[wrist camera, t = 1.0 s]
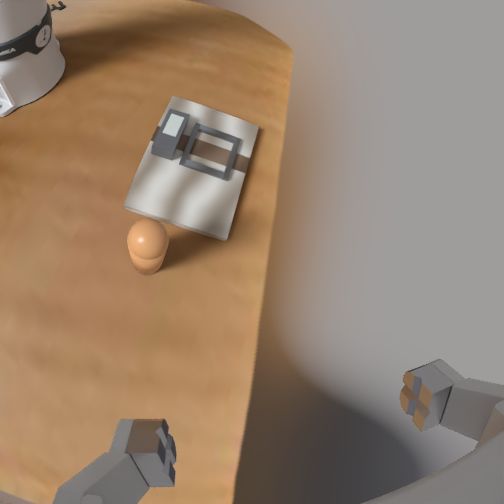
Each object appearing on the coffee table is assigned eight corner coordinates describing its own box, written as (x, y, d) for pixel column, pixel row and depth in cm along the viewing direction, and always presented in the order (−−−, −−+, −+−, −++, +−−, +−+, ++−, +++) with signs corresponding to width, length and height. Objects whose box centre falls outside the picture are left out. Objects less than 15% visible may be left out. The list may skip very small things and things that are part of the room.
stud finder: (151, 153, 41) (151, 145, 39) (168, 117, 43) (170, 107, 41) (171, 160, 42) (173, 152, 40) (187, 123, 44) (190, 114, 42)
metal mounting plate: (123, 208, 40) (122, 203, 38) (172, 101, 46) (173, 92, 44) (224, 241, 44) (228, 237, 42) (256, 131, 50) (260, 124, 48)
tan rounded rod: (128, 271, 39) (119, 248, 25) (137, 243, 40) (134, 206, 26) (156, 280, 40) (163, 262, 26) (165, 252, 41) (177, 219, 27)
